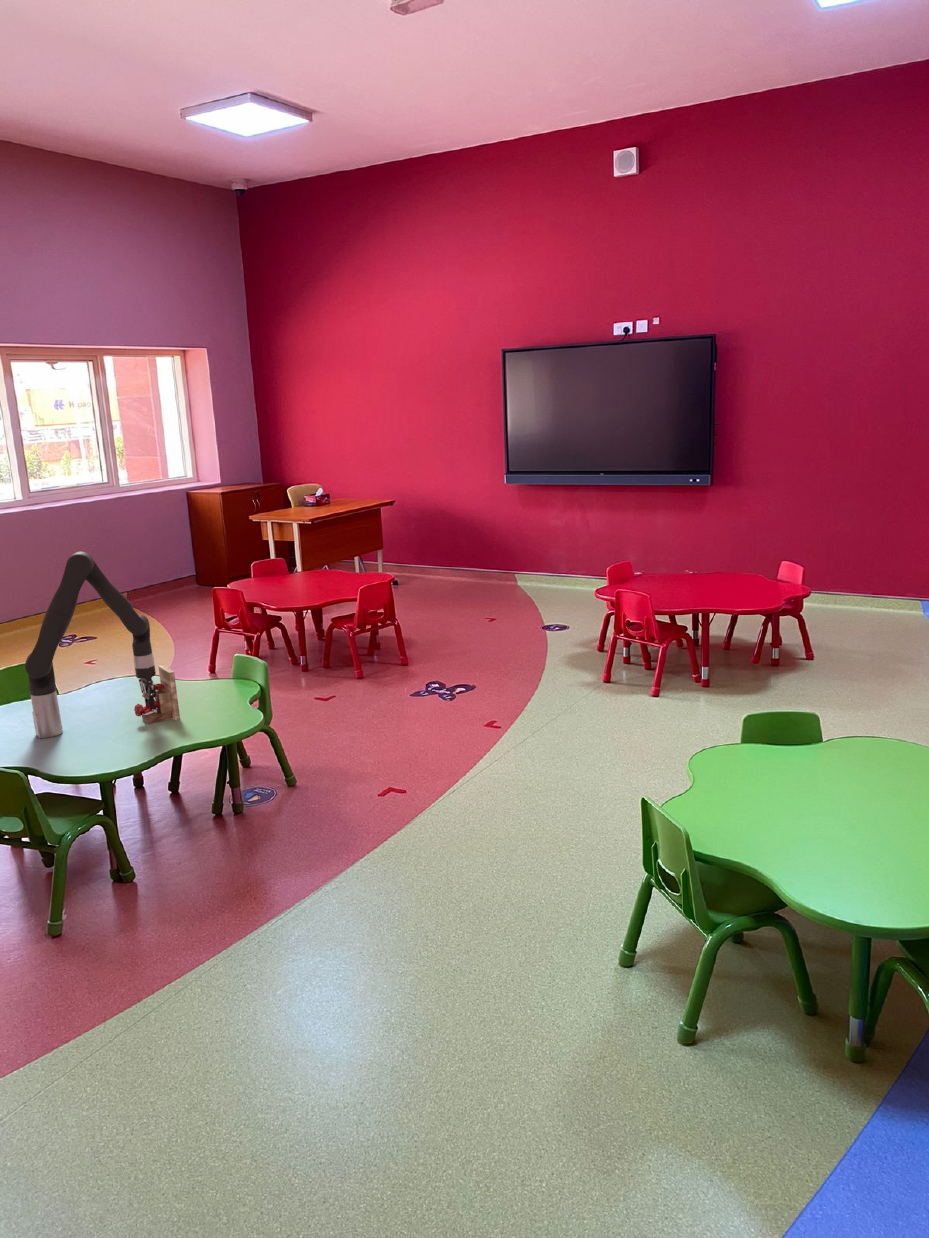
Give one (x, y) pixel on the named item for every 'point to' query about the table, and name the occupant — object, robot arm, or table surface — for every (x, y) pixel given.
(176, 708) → the board
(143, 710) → the toy fire truck
